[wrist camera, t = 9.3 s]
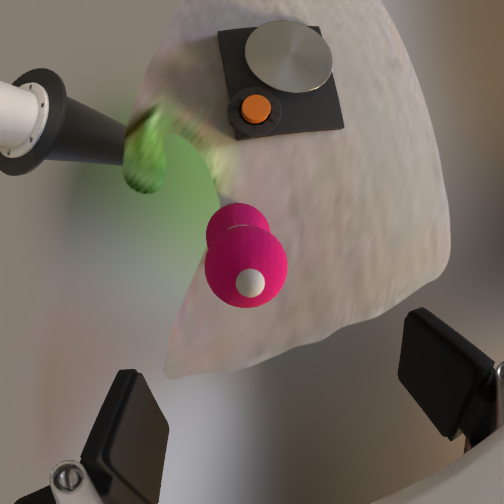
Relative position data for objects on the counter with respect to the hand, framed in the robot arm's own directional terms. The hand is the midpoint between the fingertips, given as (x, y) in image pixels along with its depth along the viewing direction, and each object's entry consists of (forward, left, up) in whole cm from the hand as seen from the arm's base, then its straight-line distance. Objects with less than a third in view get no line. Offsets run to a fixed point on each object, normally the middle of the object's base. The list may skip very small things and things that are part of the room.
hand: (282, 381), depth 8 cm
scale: (+9, +19, -28) cm, 35 cm away
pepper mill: (0, 0, -28) cm, 28 cm away
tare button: (+4, +14, -25) cm, 30 cm away
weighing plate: (+10, +21, -25) cm, 34 cm away
